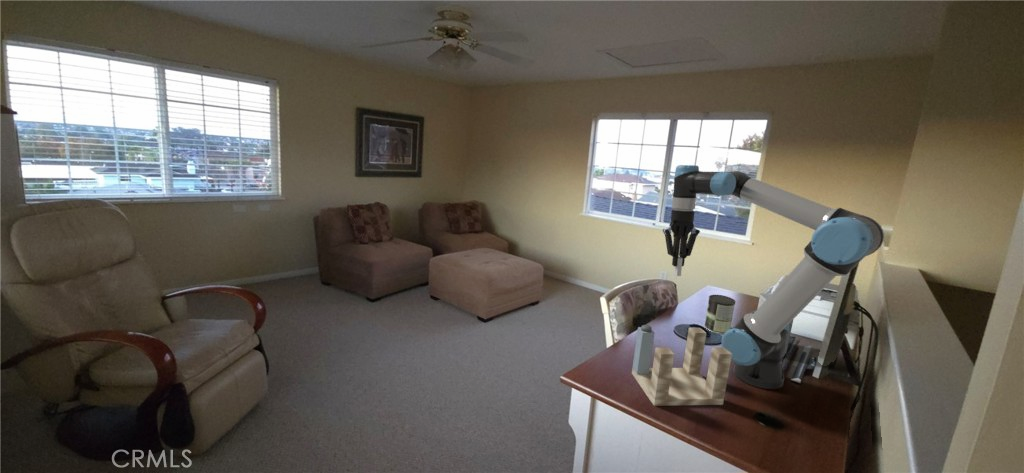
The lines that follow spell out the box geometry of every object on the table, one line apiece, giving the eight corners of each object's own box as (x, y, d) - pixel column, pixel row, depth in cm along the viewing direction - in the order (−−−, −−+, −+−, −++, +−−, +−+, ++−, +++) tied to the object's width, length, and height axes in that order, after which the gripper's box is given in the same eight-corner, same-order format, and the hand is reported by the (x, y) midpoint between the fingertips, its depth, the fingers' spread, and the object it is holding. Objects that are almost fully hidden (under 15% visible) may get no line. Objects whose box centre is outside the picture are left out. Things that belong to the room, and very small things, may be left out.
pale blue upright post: (643, 367, 144) (649, 324, 140) (648, 374, 140) (655, 330, 136) (632, 367, 143) (638, 324, 140) (637, 374, 140) (643, 329, 136)
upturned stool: (692, 372, 146) (700, 327, 143) (722, 404, 129) (732, 354, 125) (631, 373, 144) (637, 327, 140) (654, 405, 127) (661, 354, 123)
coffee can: (700, 328, 183) (705, 298, 180) (709, 322, 190) (714, 292, 187) (725, 336, 176) (731, 305, 173) (733, 329, 184) (739, 299, 180)
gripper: (695, 208, 152) (689, 272, 156) (660, 208, 151) (655, 272, 155) (706, 211, 144) (699, 277, 148) (670, 210, 143) (664, 277, 147)
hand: (677, 274), depth 152 cm, fingers closed
